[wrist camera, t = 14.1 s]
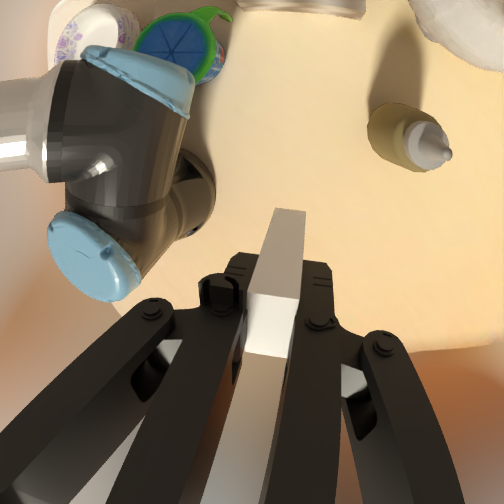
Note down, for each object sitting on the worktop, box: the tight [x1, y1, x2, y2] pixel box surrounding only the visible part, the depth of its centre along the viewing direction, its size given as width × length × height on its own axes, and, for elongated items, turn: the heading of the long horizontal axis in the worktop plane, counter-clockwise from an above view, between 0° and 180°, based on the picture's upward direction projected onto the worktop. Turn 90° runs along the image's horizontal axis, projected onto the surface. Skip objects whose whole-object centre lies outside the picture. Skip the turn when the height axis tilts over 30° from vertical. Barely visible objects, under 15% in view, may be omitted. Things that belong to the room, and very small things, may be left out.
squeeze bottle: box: [367, 103, 452, 172], centre depth 24 cm, size 8×8×18 cm
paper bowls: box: [54, 3, 141, 66], centre depth 28 cm, size 15×15×8 cm
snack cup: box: [132, 6, 233, 85], centre depth 27 cm, size 16×10×10 cm
